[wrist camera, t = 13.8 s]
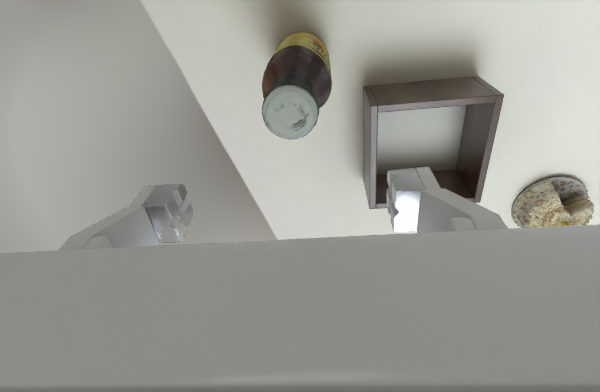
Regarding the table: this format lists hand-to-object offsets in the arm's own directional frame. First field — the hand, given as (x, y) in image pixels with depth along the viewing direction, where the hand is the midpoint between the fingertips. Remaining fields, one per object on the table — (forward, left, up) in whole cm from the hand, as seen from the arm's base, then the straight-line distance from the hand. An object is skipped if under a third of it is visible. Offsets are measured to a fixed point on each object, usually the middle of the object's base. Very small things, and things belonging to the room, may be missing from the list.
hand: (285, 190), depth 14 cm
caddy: (-13, +13, -32) cm, 37 cm away
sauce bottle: (+1, +2, -32) cm, 32 cm away
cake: (-33, +26, -32) cm, 53 cm away
